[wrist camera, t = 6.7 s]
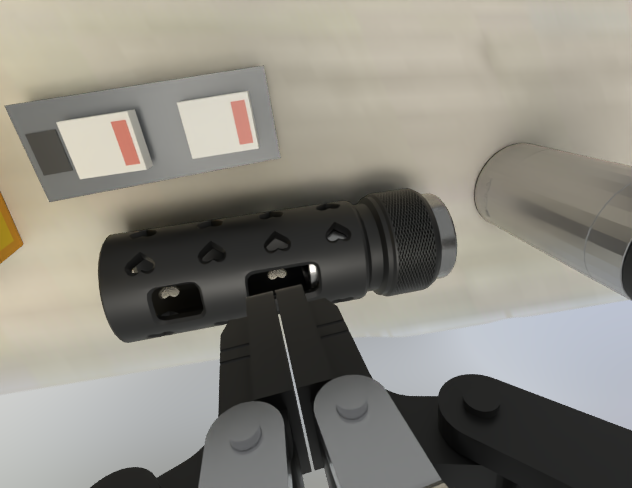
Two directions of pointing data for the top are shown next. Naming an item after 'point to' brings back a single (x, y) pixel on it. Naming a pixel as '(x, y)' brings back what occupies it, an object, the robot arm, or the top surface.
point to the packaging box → (7, 233)
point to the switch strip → (156, 124)
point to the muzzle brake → (273, 260)
